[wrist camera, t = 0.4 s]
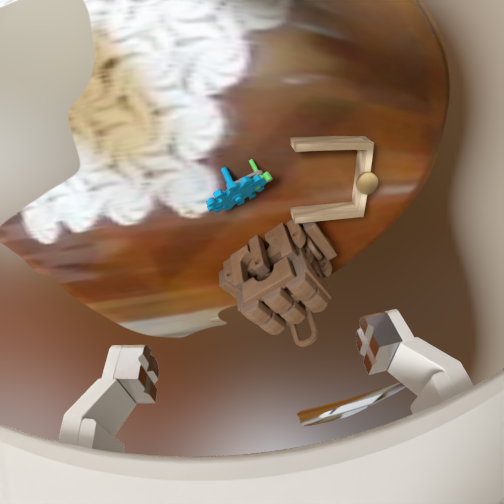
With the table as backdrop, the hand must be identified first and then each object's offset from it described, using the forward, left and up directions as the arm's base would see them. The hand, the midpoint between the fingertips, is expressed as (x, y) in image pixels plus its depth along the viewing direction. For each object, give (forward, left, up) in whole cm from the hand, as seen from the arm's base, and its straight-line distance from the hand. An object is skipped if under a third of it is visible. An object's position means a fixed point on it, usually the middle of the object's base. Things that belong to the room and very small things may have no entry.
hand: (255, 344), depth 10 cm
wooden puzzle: (+30, +7, -38) cm, 49 cm away
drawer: (+12, +17, -38) cm, 44 cm away
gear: (+12, +1, -38) cm, 40 cm away
